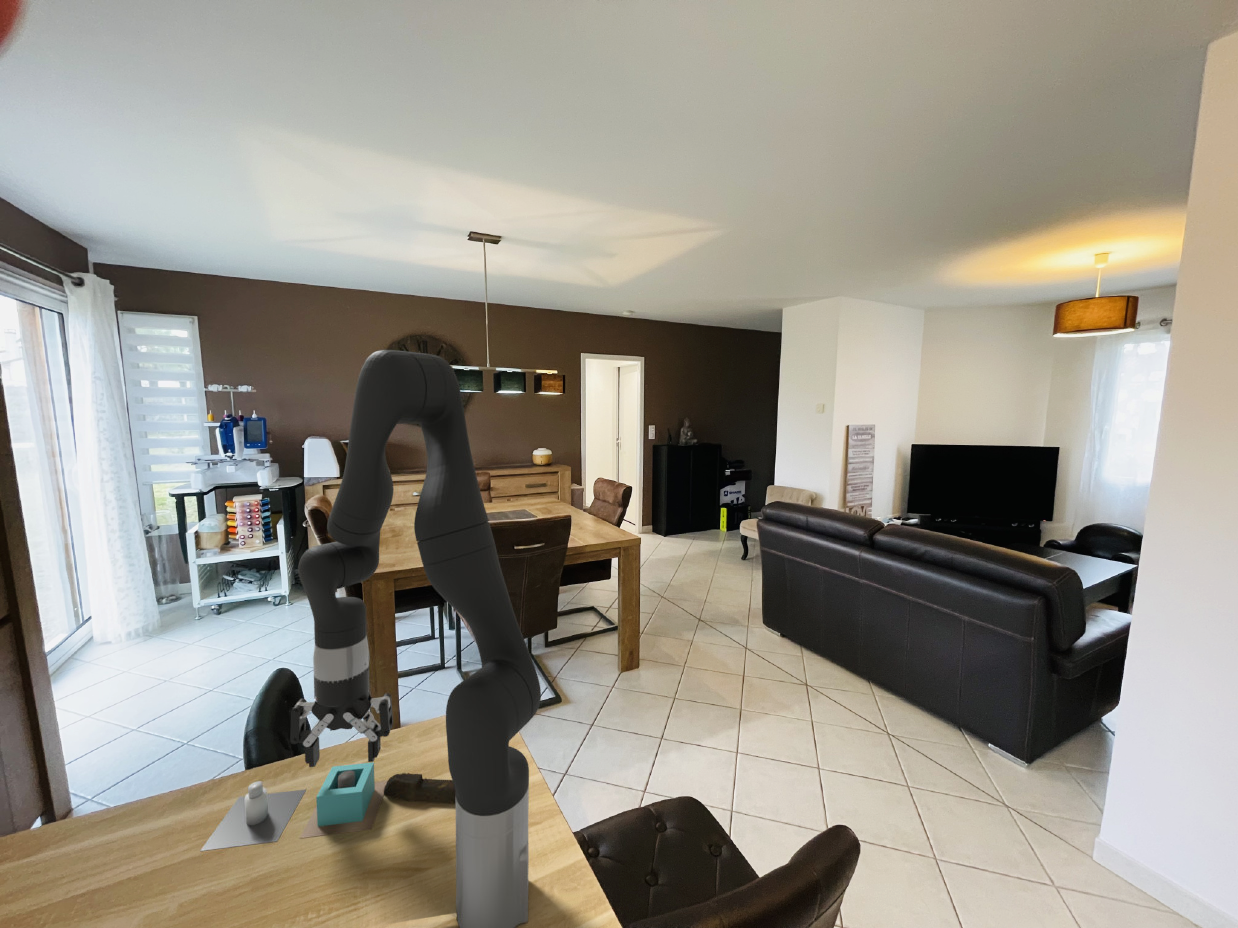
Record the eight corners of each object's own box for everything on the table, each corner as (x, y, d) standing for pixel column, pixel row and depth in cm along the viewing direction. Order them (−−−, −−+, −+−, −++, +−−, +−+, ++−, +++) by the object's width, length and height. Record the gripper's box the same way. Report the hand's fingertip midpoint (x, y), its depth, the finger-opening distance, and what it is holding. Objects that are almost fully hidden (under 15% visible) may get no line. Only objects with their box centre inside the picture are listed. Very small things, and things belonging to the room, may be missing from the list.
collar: (374, 789, 82) (373, 762, 82) (362, 820, 76) (361, 791, 76) (333, 793, 81) (332, 766, 81) (317, 826, 75) (316, 796, 74)
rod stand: (389, 785, 85) (388, 750, 84) (371, 834, 75) (370, 796, 74) (326, 792, 83) (324, 757, 82) (299, 844, 73) (297, 804, 72)
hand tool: (500, 795, 83) (500, 770, 83) (492, 814, 79) (492, 788, 79) (393, 788, 84) (392, 763, 84) (380, 806, 80) (379, 780, 80)
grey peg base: (306, 794, 82) (305, 759, 81) (277, 846, 72) (275, 807, 72) (239, 802, 80) (237, 765, 79) (200, 856, 70) (197, 816, 70)
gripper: (279, 682, 71) (283, 783, 73) (384, 676, 74) (385, 773, 76) (302, 655, 78) (305, 748, 80) (396, 651, 81) (397, 740, 83)
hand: (344, 760), depth 78 cm, fingers open, 8 cm apart
